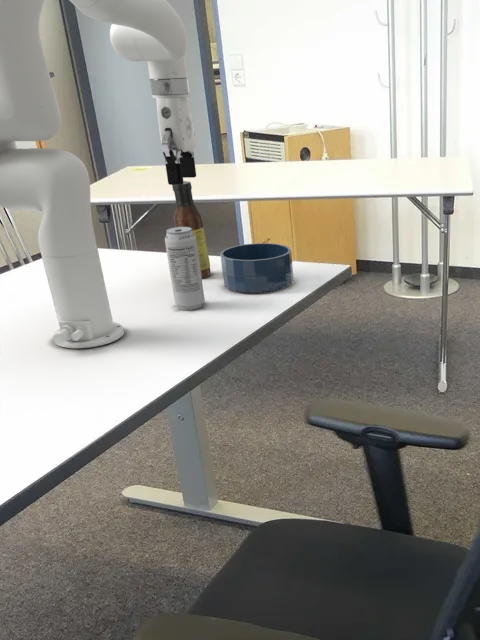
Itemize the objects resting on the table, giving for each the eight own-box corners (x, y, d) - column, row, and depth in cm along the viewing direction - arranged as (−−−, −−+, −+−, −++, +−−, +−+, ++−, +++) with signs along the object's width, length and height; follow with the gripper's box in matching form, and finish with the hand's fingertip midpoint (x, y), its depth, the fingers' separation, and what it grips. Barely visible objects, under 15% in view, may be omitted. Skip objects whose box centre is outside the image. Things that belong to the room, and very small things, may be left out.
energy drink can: (207, 301, 160) (197, 225, 151) (202, 310, 155) (190, 232, 146) (179, 302, 160) (167, 226, 152) (172, 311, 155) (159, 233, 147)
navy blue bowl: (286, 294, 162) (284, 260, 159) (216, 294, 164) (212, 260, 160) (298, 274, 175) (296, 242, 171) (233, 275, 176) (229, 243, 172)
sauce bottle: (214, 272, 179) (202, 179, 168) (207, 279, 174) (194, 184, 163) (187, 272, 180) (173, 180, 168) (179, 279, 174) (164, 185, 163)
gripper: (175, 91, 148) (188, 187, 158) (199, 86, 163) (210, 174, 172) (138, 92, 149) (153, 187, 158) (165, 87, 163) (177, 175, 173)
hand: (182, 180), depth 165 cm, fingers open, 9 cm apart
